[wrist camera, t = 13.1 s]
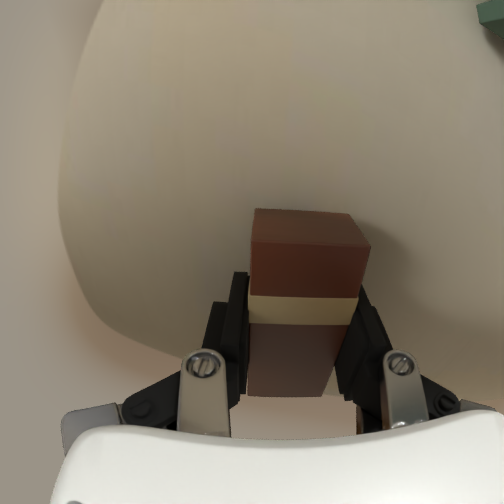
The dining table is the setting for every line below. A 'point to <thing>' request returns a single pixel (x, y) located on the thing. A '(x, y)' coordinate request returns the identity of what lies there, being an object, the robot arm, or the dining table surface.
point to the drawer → (492, 16)
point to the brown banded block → (300, 298)
